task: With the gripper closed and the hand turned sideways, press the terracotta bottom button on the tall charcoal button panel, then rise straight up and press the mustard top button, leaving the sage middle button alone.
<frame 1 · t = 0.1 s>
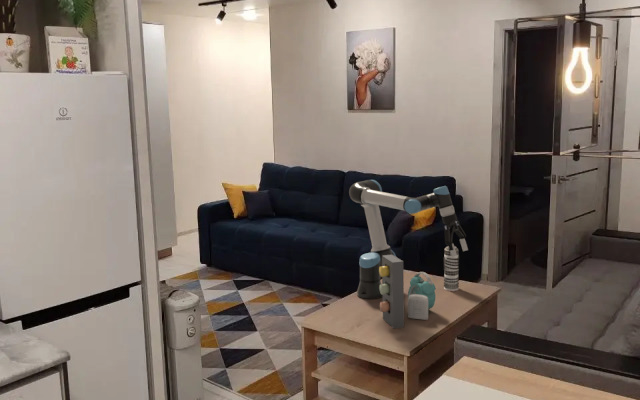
hand: (460, 253, 318), 28 cm above the table, tool tilted 20°, fingers open, 13 cm apart
sage button: (385, 288, 294), point 18 cm above the table, slide at 0.0 cm
button panel: (394, 322, 299), on the table
photo printer: (418, 318, 304), on the table
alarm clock: (421, 309, 316), on the table
terracotta button: (385, 306, 296), point 9 cm above the table, slide at 0.0 cm
mustard button: (384, 271, 293), point 27 cm above the table, slide at 0.0 cm
leaning tower model: (451, 288, 349), on the table
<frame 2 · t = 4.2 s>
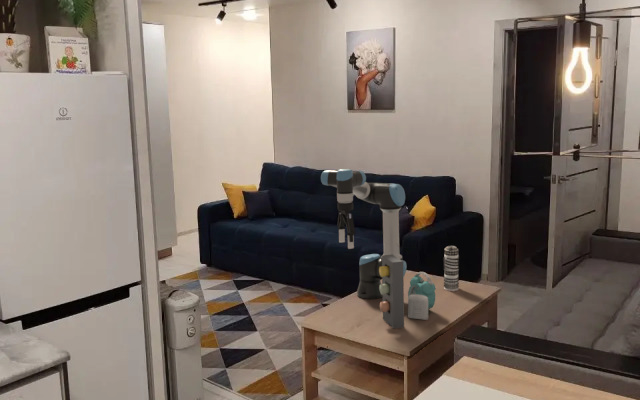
hand: (346, 245, 289), 41 cm above the table, tool pointing down, fingers open, 13 cm apart
nothing on the table moved.
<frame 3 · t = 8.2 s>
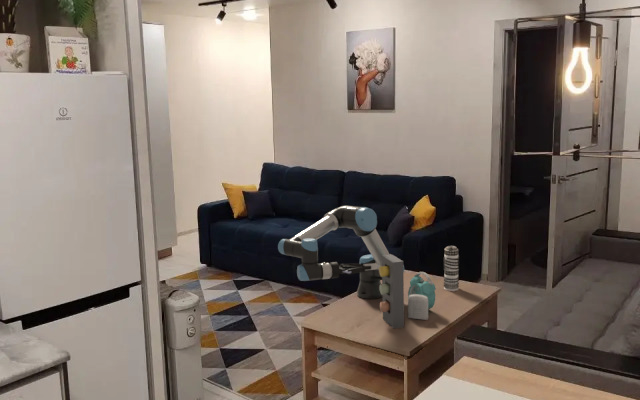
hand: (376, 266, 291), 30 cm above the table, tool horizontal, fingers closed
nothing on the table moved.
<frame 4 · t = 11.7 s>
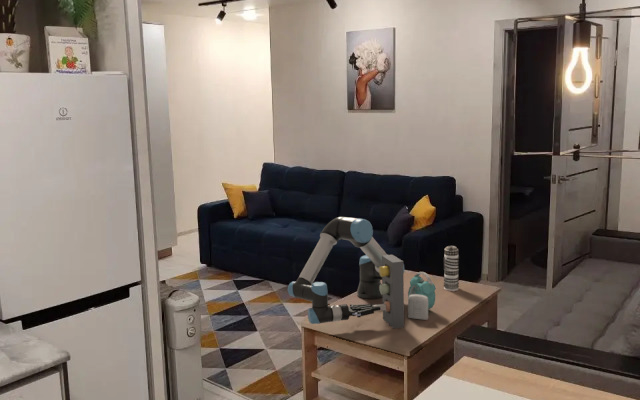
hand: (385, 306, 296), 9 cm above the table, tool horizontal, fingers closed
terracotta button: (389, 305, 296), point 9 cm above the table, slide at 2.3 cm, touching gripper
everything else where it was.
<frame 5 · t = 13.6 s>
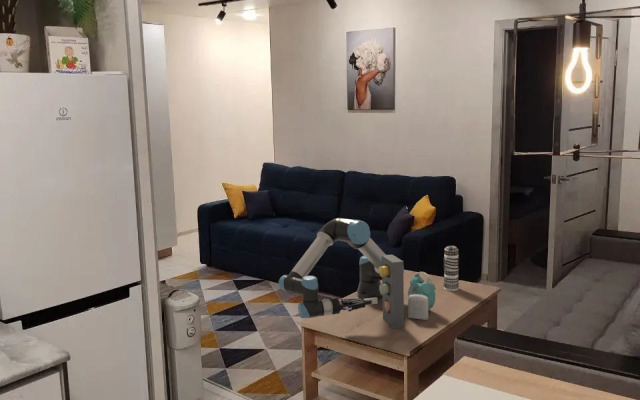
hand: (376, 300, 293), 13 cm above the table, tool horizontal, fingers closed
terracotta button: (390, 305, 297), point 9 cm above the table, slide at 2.6 cm
everything else where it was.
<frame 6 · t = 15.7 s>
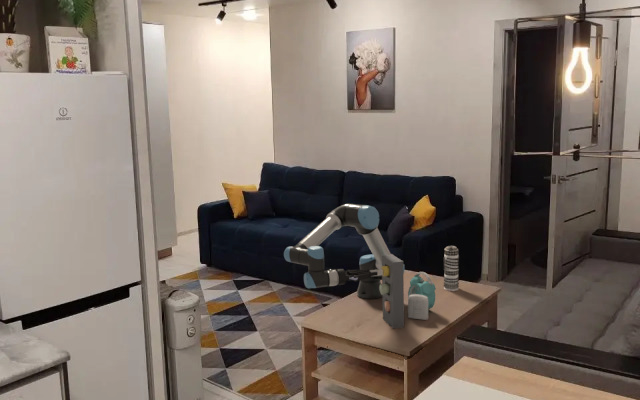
hand: (382, 272, 292), 27 cm above the table, tool horizontal, fingers closed
mustard button: (386, 270, 293), point 27 cm above the table, slide at 1.0 cm, touching gripper
everything else where it was.
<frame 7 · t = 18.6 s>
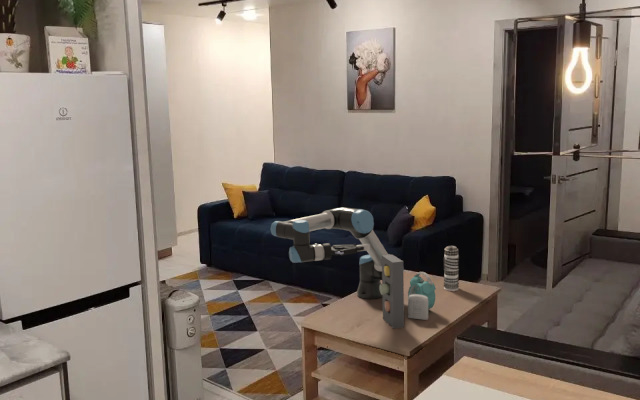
hand: (369, 247, 288), 40 cm above the table, tool horizontal, fingers closed
mustard button: (389, 270, 294), point 27 cm above the table, slide at 2.6 cm
everything else where it was.
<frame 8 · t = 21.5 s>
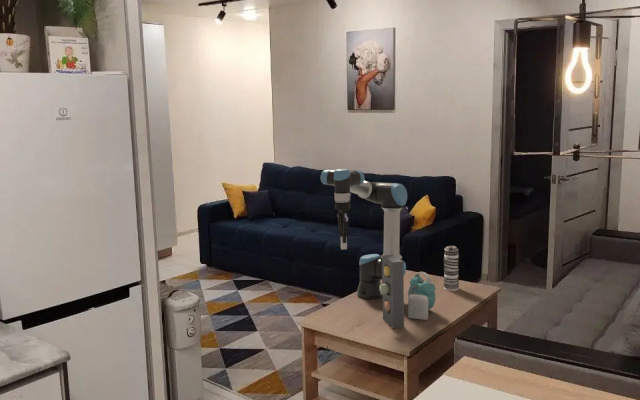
hand: (343, 248, 293), 38 cm above the table, tool pointing down, fingers closed
nothing on the table moved.
at the end: terracotta button slide at 2.6 cm; mustard button slide at 2.6 cm; sage button slide at 0.0 cm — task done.
